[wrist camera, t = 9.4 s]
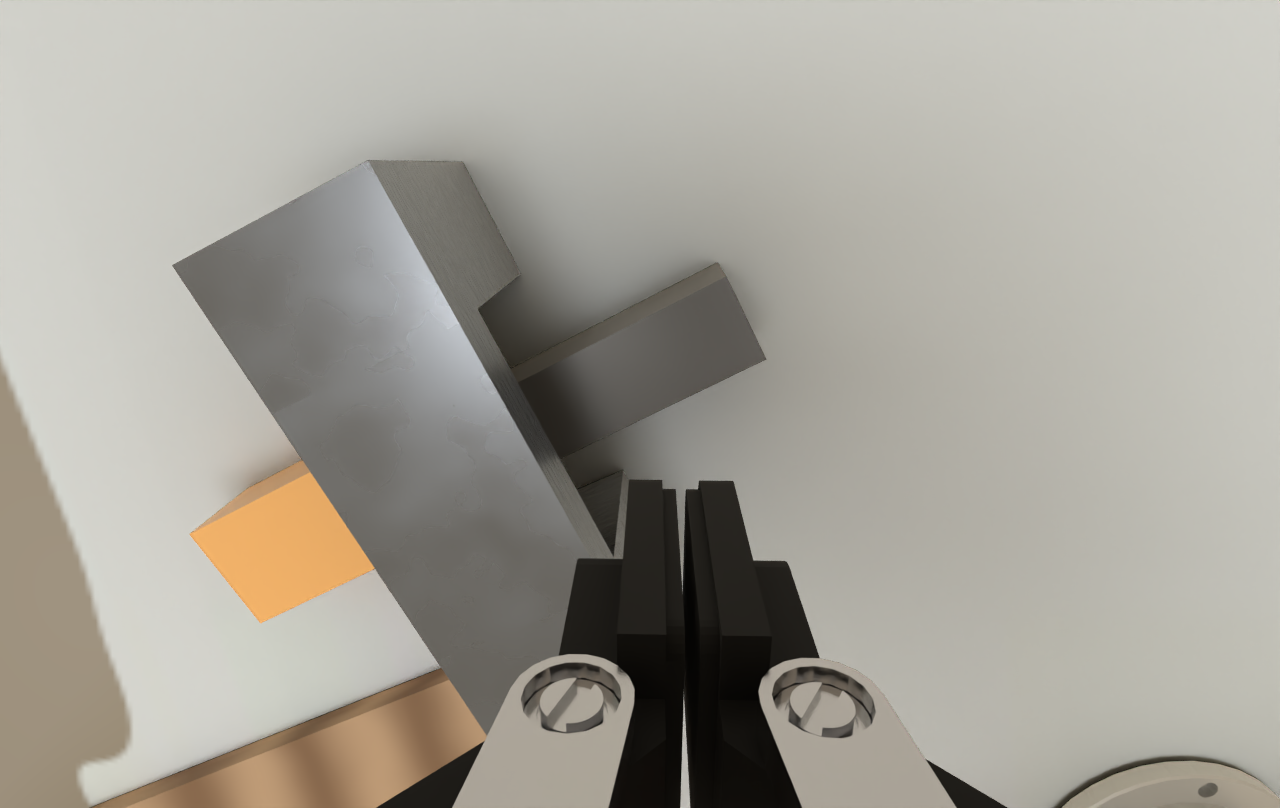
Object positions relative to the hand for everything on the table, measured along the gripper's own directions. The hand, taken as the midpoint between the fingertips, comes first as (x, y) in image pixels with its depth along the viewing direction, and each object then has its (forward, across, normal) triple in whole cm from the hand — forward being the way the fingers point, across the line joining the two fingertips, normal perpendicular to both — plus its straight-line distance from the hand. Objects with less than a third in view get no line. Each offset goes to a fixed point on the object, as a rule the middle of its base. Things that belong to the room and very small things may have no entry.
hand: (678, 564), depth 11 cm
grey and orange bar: (+17, +7, +4) cm, 19 cm away
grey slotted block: (+17, +6, +3) cm, 19 cm away
